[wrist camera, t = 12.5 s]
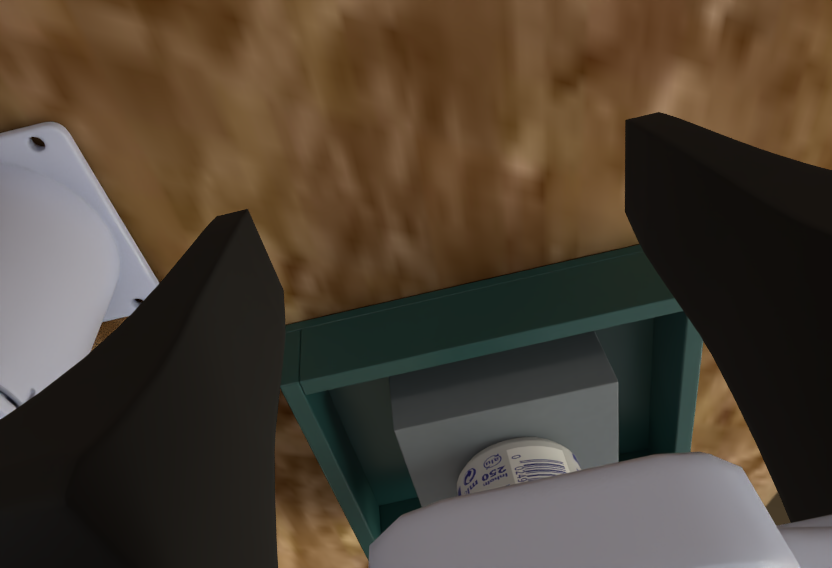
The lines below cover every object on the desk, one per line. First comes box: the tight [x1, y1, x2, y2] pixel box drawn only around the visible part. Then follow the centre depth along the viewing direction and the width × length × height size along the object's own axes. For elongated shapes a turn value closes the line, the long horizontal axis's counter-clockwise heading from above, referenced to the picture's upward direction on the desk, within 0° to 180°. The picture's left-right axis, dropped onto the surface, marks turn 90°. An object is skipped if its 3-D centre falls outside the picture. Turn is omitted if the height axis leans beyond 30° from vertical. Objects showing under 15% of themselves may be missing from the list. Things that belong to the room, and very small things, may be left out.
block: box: [388, 331, 618, 507], centre depth 30 cm, size 9×9×4 cm
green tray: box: [280, 245, 703, 561], centre depth 30 cm, size 17×15×4 cm
